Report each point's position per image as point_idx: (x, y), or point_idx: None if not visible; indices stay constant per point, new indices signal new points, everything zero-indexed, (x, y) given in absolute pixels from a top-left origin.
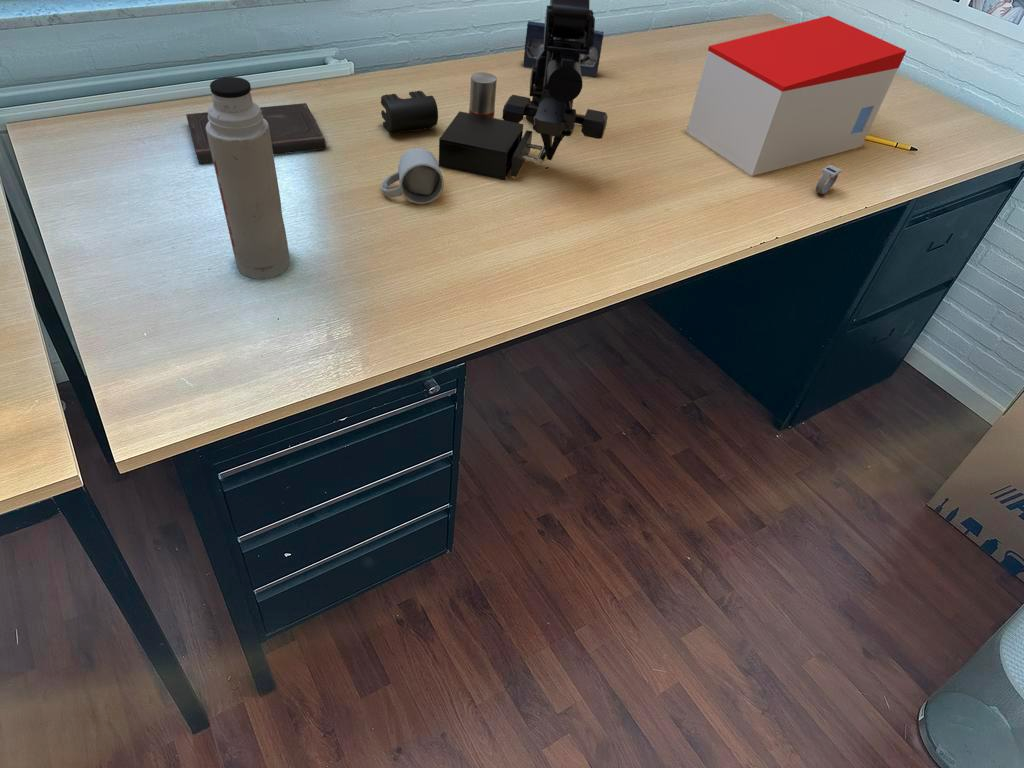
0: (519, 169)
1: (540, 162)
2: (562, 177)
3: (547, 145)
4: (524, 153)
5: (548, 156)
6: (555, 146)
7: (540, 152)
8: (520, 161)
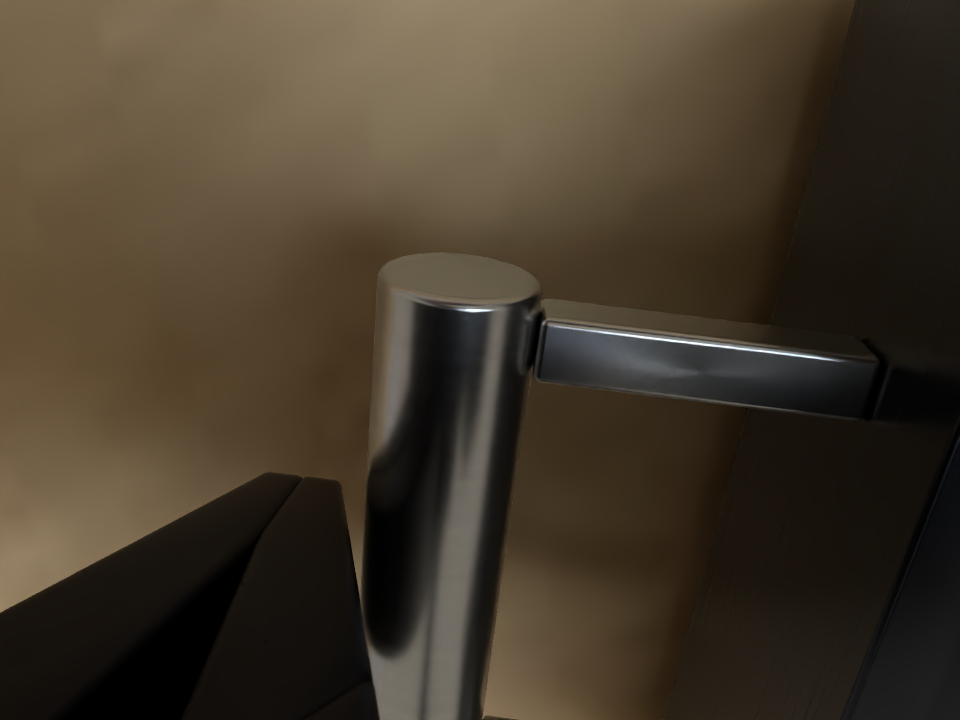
0: (819, 201)
1: (431, 266)
2: (142, 326)
3: (260, 659)
4: (781, 566)
5: (299, 502)
6: (11, 638)
7: (472, 575)
8: (873, 257)
